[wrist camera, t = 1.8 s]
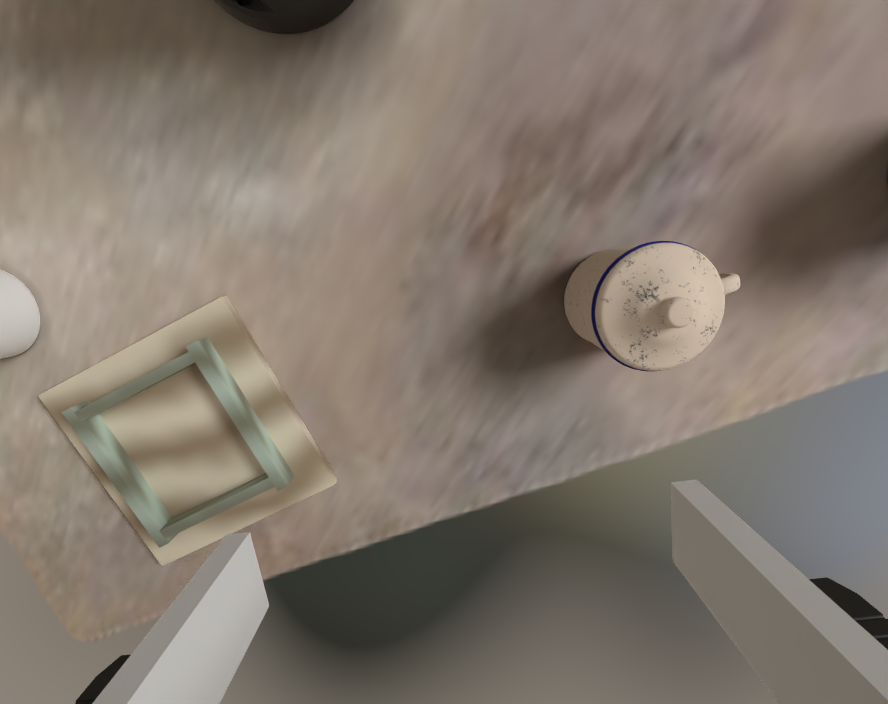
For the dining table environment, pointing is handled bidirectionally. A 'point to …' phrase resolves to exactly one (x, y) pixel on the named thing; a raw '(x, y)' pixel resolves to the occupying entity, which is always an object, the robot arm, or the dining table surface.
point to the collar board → (191, 433)
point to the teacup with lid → (648, 303)
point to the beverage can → (16, 316)
